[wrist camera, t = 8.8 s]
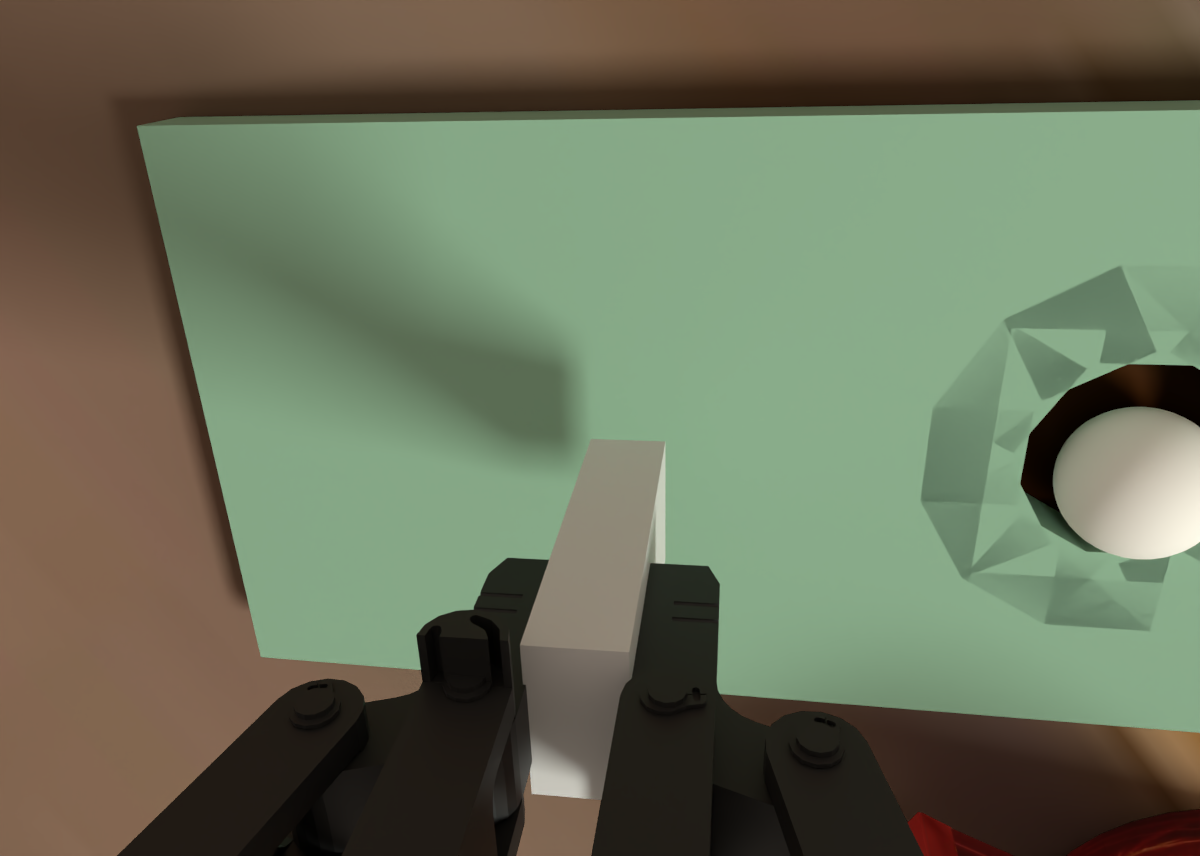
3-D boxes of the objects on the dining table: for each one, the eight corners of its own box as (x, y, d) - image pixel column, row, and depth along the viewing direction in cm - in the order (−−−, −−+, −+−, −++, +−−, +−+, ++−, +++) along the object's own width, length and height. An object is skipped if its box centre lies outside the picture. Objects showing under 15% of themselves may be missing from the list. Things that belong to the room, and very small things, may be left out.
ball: (1238, 562, 19) (1139, 458, 22) (1294, 463, 17) (1176, 357, 19) (1098, 608, 19) (1012, 498, 21) (1135, 514, 17) (1035, 401, 19)
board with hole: (287, 621, 27) (223, 707, 23) (179, 117, 21) (73, 138, 18) (1358, 700, 22) (1460, 818, 19) (1606, 93, 16) (1811, 117, 13)
